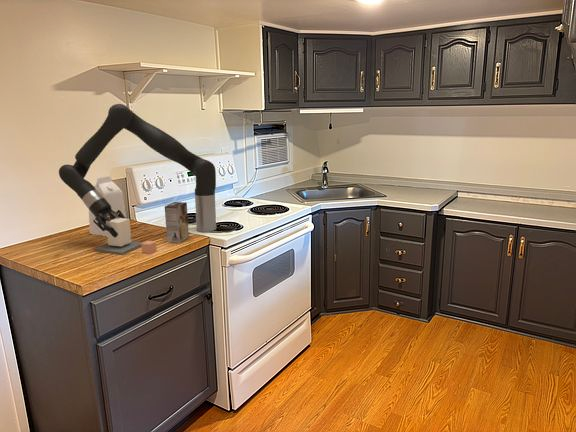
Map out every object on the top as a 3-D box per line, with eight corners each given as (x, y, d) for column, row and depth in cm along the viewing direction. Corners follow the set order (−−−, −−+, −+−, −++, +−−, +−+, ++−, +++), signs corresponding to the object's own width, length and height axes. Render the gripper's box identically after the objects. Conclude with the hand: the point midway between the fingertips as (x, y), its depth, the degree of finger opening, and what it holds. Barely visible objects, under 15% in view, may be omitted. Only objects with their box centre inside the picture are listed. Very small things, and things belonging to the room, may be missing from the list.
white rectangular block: (108, 244, 181) (105, 221, 178) (119, 240, 187) (116, 217, 184) (120, 246, 179) (118, 222, 176) (131, 242, 184) (129, 219, 182)
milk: (110, 227, 214) (104, 174, 208) (128, 230, 209) (123, 175, 203) (89, 233, 203) (83, 177, 197) (108, 236, 199) (102, 179, 192)
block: (142, 252, 177) (141, 243, 176) (148, 250, 181) (147, 240, 180) (150, 254, 176) (149, 244, 175) (156, 251, 180) (155, 241, 179)
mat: (94, 251, 179) (94, 248, 179) (118, 241, 192) (118, 239, 192) (122, 255, 174) (122, 252, 174) (145, 244, 187) (145, 242, 187)
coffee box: (175, 236, 200) (173, 201, 196) (189, 237, 198) (187, 202, 194) (166, 242, 191) (164, 206, 187) (180, 243, 190) (178, 206, 186)
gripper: (87, 201, 174) (114, 232, 173) (113, 194, 187) (138, 223, 186) (78, 213, 177) (105, 244, 176) (104, 205, 190) (129, 234, 189)
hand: (122, 233), depth 181 cm, fingers closed on white rectangular block, 6 cm apart
